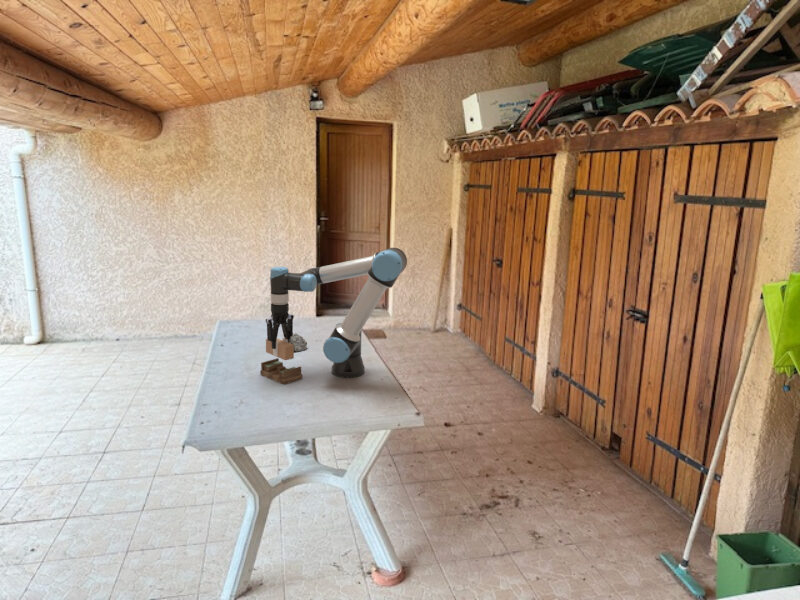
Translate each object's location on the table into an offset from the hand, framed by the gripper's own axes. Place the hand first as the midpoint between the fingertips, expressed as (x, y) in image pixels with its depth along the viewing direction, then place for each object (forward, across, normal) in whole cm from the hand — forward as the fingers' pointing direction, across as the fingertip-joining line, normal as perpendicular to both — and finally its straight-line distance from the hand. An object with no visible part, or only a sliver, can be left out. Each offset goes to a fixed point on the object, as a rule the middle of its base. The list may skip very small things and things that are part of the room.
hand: (280, 354), depth 226 cm
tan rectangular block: (+1, 0, -1) cm, 1 cm away
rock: (+11, -30, -27) cm, 41 cm away
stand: (+10, 0, 0) cm, 10 cm away
